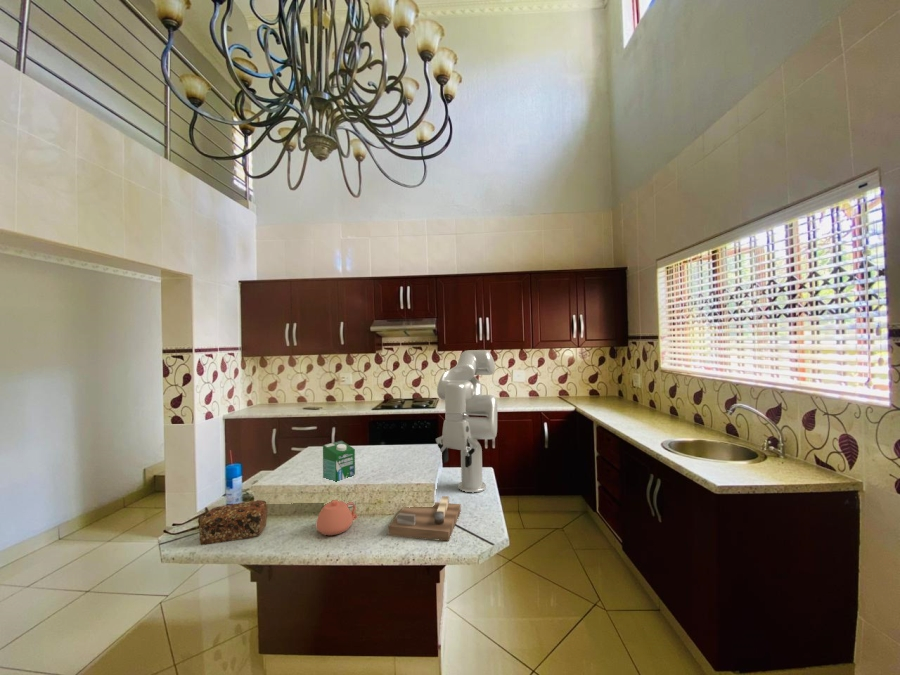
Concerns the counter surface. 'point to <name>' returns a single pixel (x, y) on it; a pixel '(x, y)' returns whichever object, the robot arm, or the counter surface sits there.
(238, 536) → the bread
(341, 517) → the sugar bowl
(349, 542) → the counter surface
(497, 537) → the counter surface
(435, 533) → the wooden board
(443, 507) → the folding leg
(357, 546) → the counter surface
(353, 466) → the milk carton
